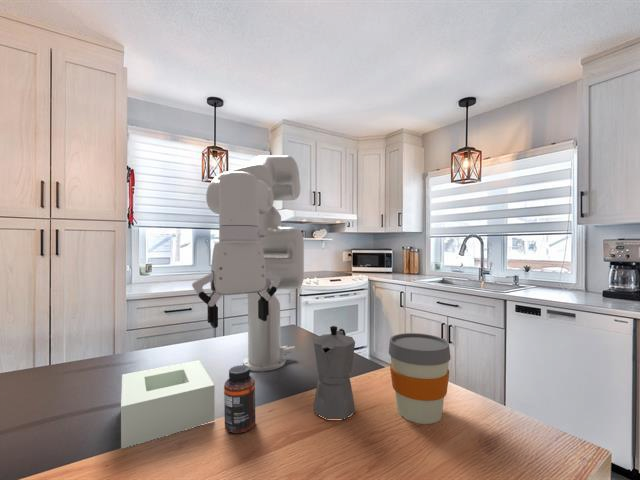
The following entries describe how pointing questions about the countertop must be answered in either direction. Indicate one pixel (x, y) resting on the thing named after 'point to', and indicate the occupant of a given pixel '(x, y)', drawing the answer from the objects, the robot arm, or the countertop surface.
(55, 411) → the countertop surface
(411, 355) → the reusable coffee cup
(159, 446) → the countertop surface
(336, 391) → the coffeepot
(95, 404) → the countertop surface
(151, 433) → the sage block
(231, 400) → the supplement bottle
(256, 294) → the robot arm
